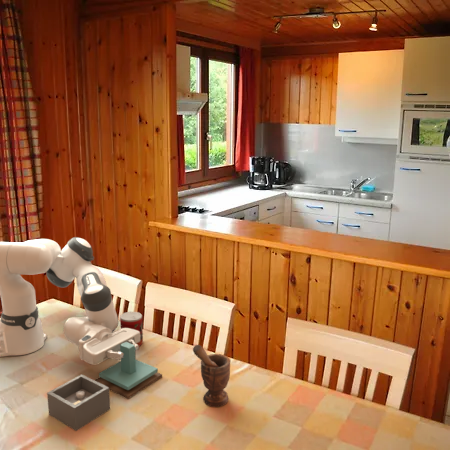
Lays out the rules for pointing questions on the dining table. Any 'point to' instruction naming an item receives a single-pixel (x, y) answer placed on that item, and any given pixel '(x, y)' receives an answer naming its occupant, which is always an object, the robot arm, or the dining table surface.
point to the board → (133, 390)
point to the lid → (128, 369)
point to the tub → (78, 401)
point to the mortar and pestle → (214, 376)
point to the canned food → (132, 323)
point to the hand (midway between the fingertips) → (129, 352)
